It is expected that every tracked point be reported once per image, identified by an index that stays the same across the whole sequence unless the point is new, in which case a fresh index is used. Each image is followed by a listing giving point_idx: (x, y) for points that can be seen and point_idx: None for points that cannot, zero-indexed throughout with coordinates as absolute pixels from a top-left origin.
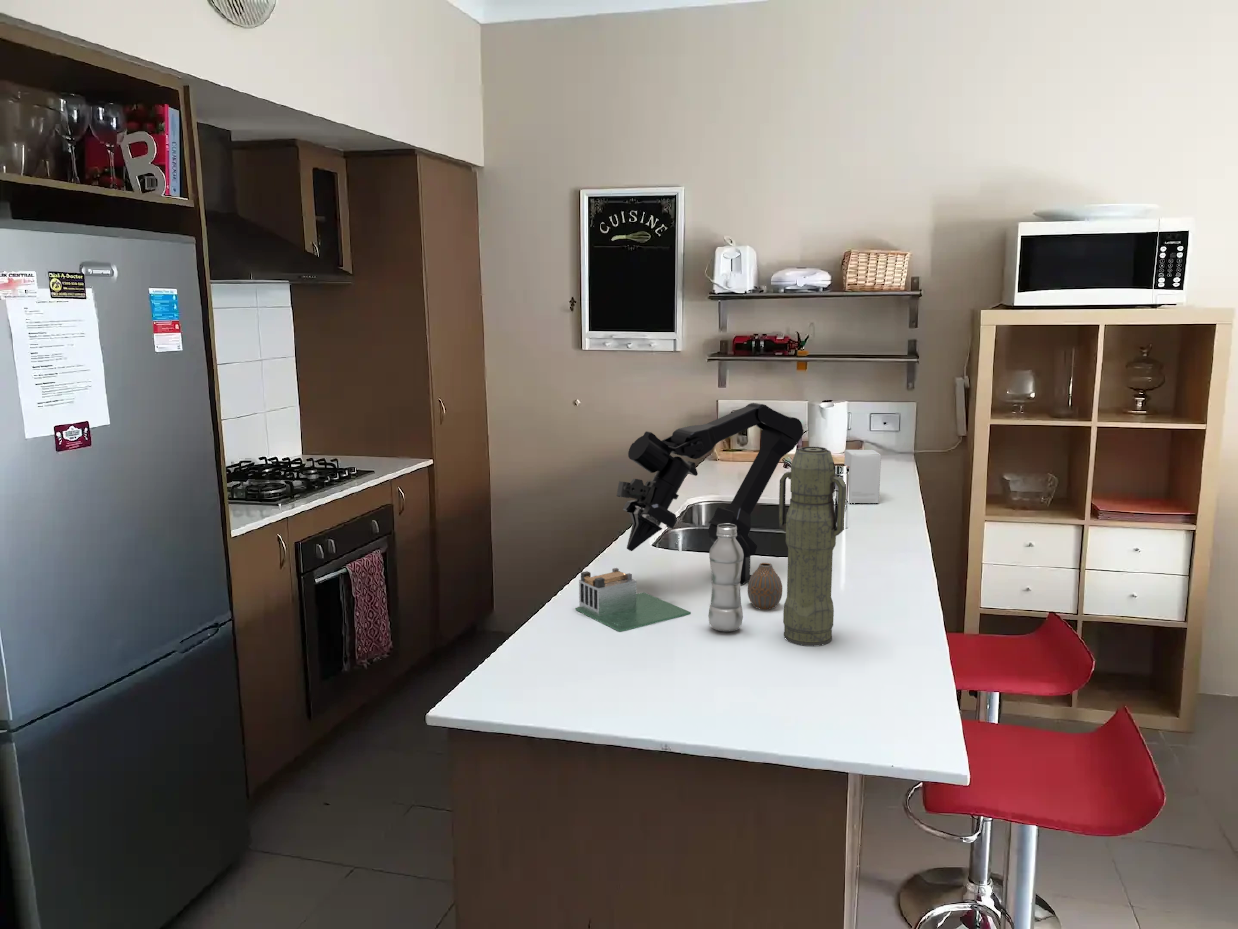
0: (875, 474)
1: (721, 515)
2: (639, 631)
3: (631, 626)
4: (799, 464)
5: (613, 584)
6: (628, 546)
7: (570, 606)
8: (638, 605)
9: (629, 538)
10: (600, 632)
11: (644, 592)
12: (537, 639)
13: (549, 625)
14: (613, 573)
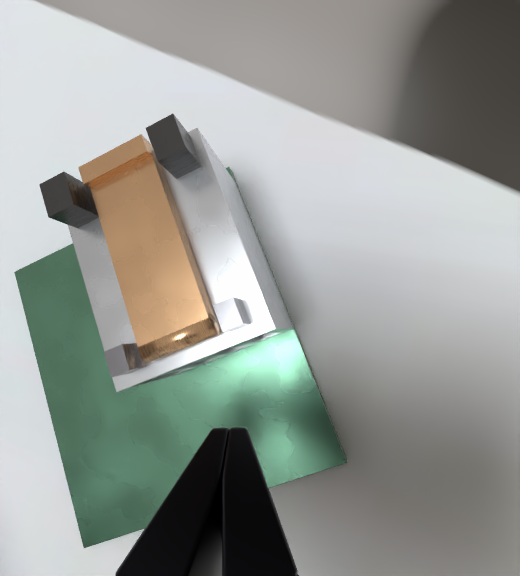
0: None
1: None
2: (9, 328)
3: (27, 311)
4: None
5: (92, 271)
6: (204, 440)
7: (271, 157)
8: (195, 388)
9: (251, 501)
10: (34, 220)
11: (342, 463)
12: (39, 57)
13: (122, 87)
14: (178, 291)
